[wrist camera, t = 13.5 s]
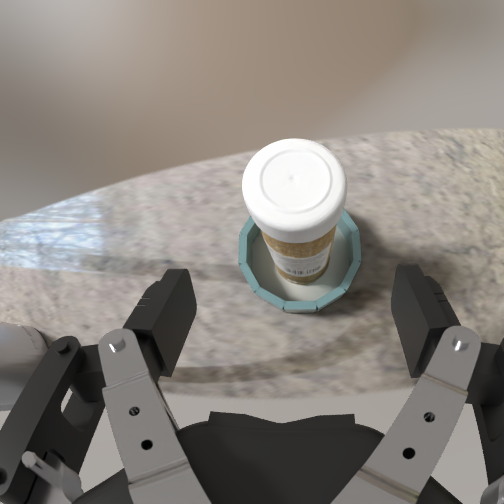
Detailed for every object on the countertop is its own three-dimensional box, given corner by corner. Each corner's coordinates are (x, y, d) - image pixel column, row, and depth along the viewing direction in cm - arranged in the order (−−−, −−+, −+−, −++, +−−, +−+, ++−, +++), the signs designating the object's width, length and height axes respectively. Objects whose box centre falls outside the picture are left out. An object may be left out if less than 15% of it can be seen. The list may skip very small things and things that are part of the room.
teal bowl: (321, 333, 24) (323, 332, 21) (226, 278, 27) (216, 270, 24) (372, 236, 26) (379, 224, 23) (280, 190, 28) (276, 174, 25)
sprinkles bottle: (334, 238, 25) (355, 144, 13) (322, 292, 24) (338, 240, 12) (281, 226, 27) (255, 128, 14) (267, 278, 26) (226, 216, 13)
